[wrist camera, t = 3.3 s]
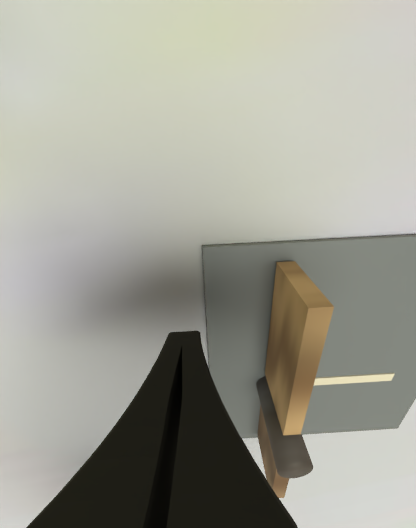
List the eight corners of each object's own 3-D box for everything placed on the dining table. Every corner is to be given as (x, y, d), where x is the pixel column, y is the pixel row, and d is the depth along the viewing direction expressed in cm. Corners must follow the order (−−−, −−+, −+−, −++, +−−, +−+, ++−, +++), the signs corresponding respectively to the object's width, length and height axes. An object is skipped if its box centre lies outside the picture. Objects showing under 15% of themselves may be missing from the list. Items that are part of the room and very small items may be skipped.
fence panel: (278, 372, 16) (300, 434, 13) (264, 373, 16) (283, 435, 13) (294, 261, 12) (334, 306, 9) (276, 262, 12) (308, 308, 9)
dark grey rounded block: (273, 433, 20) (296, 516, 16) (251, 434, 20) (267, 518, 16) (283, 374, 17) (316, 459, 12) (256, 375, 17) (279, 462, 12)
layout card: (395, 424, 21) (398, 429, 21) (213, 436, 21) (213, 441, 20) (509, 229, 12) (518, 231, 12) (202, 245, 12) (202, 248, 12)
